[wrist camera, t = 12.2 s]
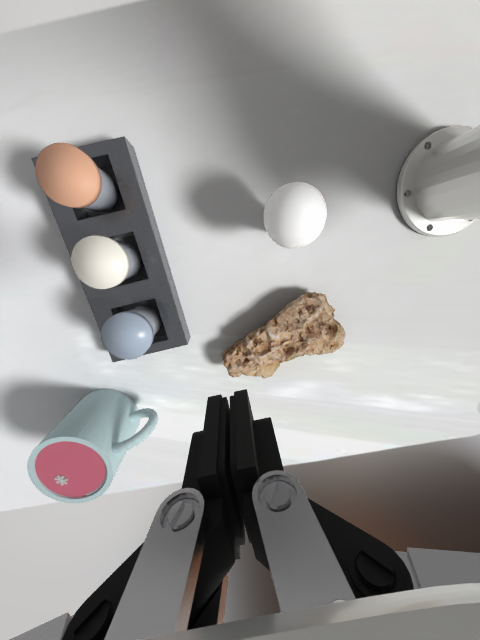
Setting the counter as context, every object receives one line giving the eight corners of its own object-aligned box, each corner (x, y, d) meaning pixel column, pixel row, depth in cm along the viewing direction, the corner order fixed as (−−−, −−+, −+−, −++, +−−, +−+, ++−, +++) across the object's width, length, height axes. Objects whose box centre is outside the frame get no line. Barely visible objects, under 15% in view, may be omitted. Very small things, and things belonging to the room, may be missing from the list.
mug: (94, 449, 40) (53, 512, 30) (65, 400, 37) (10, 451, 28) (177, 422, 40) (162, 477, 30) (153, 371, 37) (129, 413, 27)
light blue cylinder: (156, 298, 33) (142, 308, 27) (168, 335, 34) (157, 353, 28) (117, 307, 33) (93, 320, 27) (130, 344, 34) (111, 364, 28)
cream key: (135, 234, 31) (115, 230, 25) (149, 276, 32) (133, 282, 26) (93, 244, 31) (62, 242, 25) (109, 286, 32) (83, 294, 26)
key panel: (133, 147, 30) (124, 136, 27) (190, 336, 36) (187, 344, 33) (50, 167, 30) (31, 158, 27) (121, 353, 36) (112, 362, 33)
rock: (259, 409, 37) (216, 368, 32) (252, 385, 41) (213, 346, 37) (360, 343, 34) (328, 289, 30) (341, 325, 39) (311, 276, 34)
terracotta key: (112, 160, 28) (83, 136, 22) (128, 209, 30) (104, 199, 24) (66, 171, 28) (25, 150, 22) (84, 220, 30) (50, 212, 24)
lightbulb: (244, 227, 33) (255, 215, 22) (276, 188, 32) (303, 156, 21) (278, 258, 34) (304, 262, 24) (310, 222, 33) (351, 208, 23)
